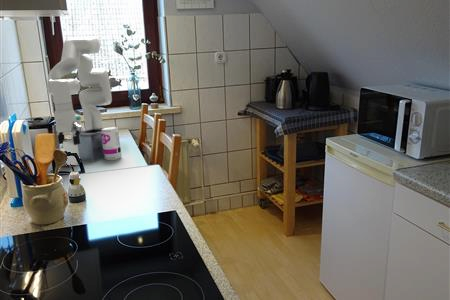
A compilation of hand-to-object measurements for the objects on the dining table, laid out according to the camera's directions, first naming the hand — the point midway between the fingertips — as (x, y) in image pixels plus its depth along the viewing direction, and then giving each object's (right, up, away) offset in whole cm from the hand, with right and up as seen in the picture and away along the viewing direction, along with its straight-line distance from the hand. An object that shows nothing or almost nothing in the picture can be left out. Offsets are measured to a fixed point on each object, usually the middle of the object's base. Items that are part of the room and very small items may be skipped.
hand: (69, 143), depth 186 cm
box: (+8, -6, +16) cm, 19 cm away
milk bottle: (-3, -5, +23) cm, 23 cm away
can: (+1, -10, +3) cm, 10 cm away
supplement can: (+17, -7, +10) cm, 22 cm away
